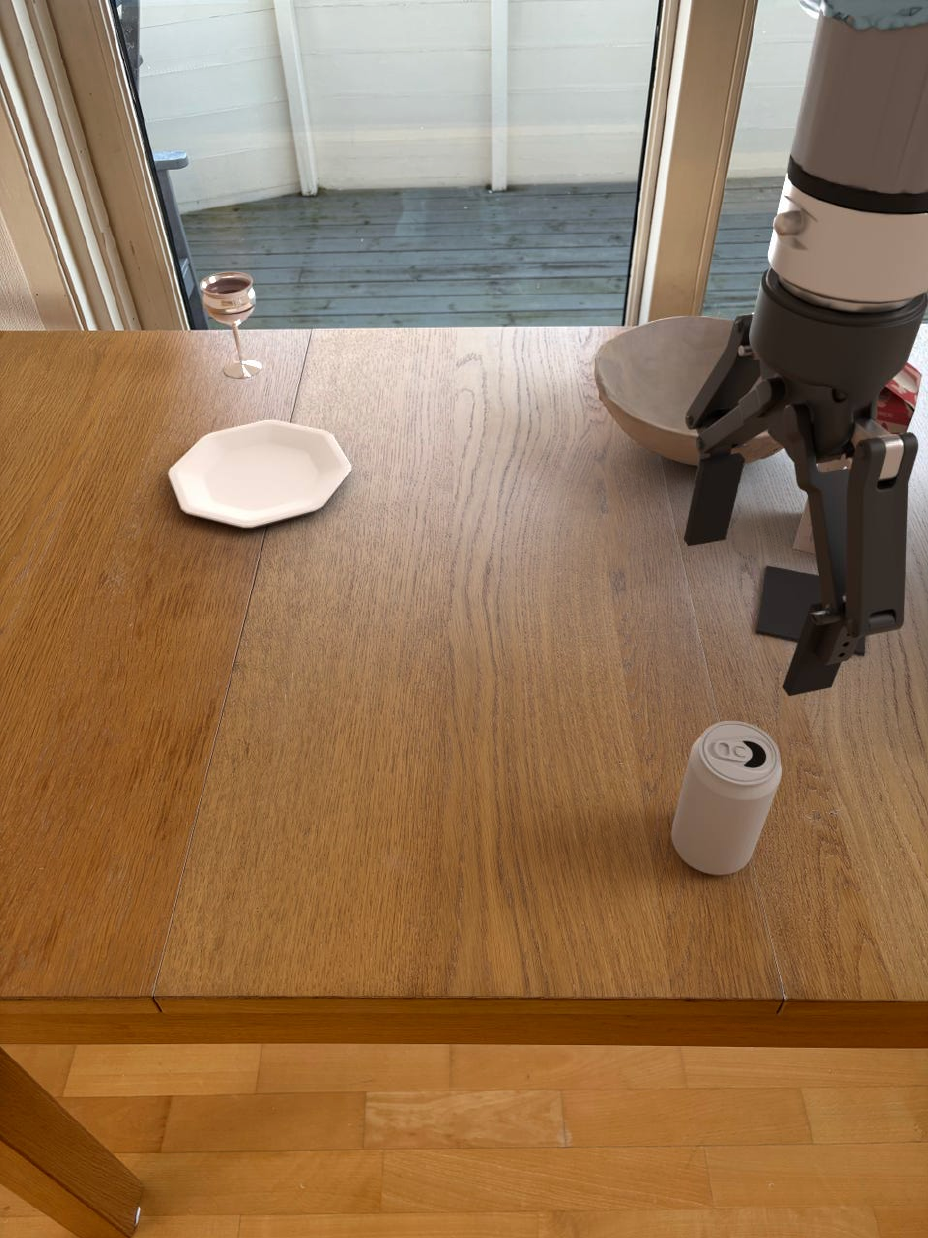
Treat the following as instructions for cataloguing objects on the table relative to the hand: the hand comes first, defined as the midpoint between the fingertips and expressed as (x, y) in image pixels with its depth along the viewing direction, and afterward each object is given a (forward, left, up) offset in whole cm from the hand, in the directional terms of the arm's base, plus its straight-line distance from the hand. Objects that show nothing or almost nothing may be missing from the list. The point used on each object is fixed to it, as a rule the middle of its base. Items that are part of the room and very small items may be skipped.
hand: (751, 608), depth 59 cm
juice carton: (-9, -41, -25) cm, 49 cm away
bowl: (+7, -55, -25) cm, 61 cm away
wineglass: (+68, -54, -25) cm, 90 cm away
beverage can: (-2, +1, -25) cm, 25 cm away
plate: (+54, -32, -25) cm, 68 cm away
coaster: (-8, -29, -24) cm, 39 cm away
